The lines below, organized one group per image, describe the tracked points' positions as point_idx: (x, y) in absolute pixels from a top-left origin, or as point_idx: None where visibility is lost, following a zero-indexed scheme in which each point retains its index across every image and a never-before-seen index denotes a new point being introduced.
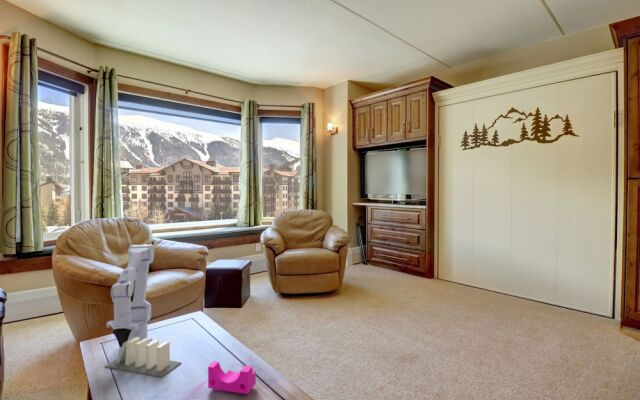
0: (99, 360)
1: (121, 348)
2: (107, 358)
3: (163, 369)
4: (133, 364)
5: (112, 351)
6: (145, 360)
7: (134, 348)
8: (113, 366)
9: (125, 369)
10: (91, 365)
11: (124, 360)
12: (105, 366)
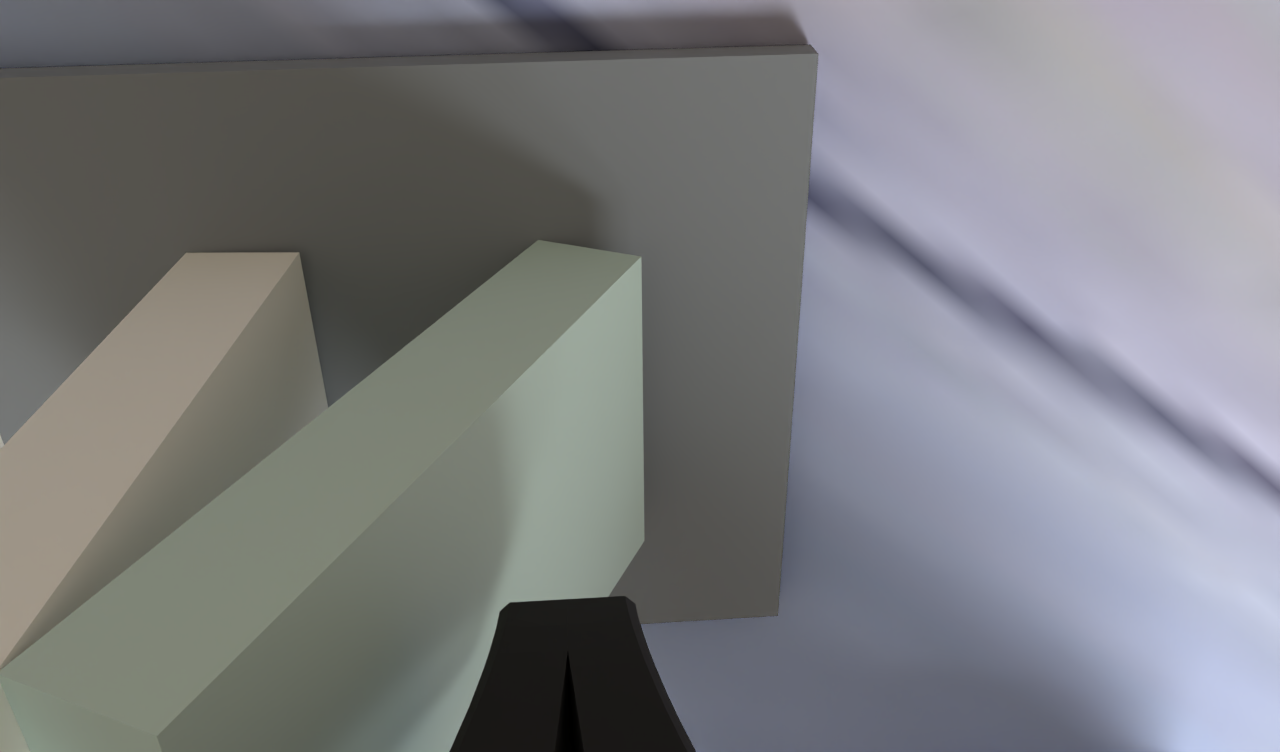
0: (1228, 256)
1: (356, 524)
2: (1095, 375)
3: None
4: None
5: (1205, 599)
6: None
7: None
8: (549, 104)
9: (47, 80)
10: (1266, 8)
11: None
12: (792, 48)
